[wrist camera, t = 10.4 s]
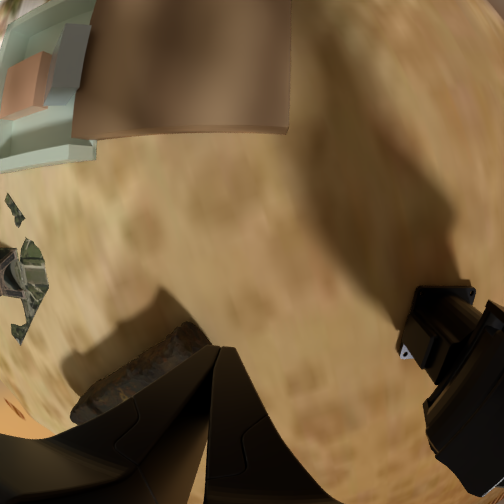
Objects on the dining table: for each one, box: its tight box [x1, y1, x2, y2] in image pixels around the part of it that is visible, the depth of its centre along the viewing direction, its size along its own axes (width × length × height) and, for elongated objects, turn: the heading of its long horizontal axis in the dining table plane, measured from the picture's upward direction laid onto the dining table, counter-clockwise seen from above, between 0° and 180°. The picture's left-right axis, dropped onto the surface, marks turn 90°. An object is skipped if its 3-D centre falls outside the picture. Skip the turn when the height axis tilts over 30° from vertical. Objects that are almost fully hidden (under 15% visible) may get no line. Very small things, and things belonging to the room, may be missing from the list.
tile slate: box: [43, 23, 92, 106], centre depth 14 cm, size 5×5×2 cm
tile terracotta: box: [0, 51, 52, 121], centre depth 16 cm, size 5×5×2 cm
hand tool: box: [70, 322, 212, 425], centre depth 21 cm, size 19×4×5 cm, turn 124°
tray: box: [0, 0, 97, 173], centre depth 15 cm, size 12×15×4 cm
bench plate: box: [71, 0, 291, 140], centre depth 15 cm, size 14×12×3 cm
